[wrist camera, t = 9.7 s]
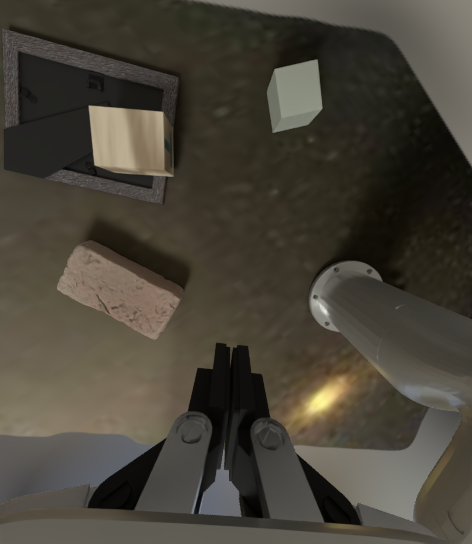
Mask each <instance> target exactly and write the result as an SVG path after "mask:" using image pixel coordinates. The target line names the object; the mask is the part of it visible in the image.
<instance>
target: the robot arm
mask: <svg viewBox="0 0 472 544" xmlns="http://www.w3.org/2000/svg"><path fill="white" fill-rule="evenodd" d="M334 268H335V270H334ZM314 295H315V296H314ZM309 307H310V311H311V313H312V315H313V317H314V318H315V319H316V320H317V321H318V323H319V324H320V325H322V326H323V327H325V328H327V329H329V330H331V331H336V332H341V333H342V334H343V335H344V336H345V337H346V338H347V339H348V340H349V341H350V342H351V343H352V345H353V346H354V347H355V348H356V349H357V350H358V351H359V352H360V353H361V354H362V355H363V356H364V357H365V358H366V359H367V360H368V361H369V362H370V363H371V364H372V365H373V366H374V367H375V368H376V369H377V370H378V371H379V372H380V373H381V374H382V375H383V376H384V377H385V378H386V379H387V380H388V381H389V382H390V383H391V384H392V385H393V386H394V387H395V388H396V389H397V390H398V391H399V392H400V393H402V394H403V395H405V396H406V397H408V398H409V399H411V400H413V401H415V402H417V403H420V404H423V405H426V406H429V407H433V408H438V409H443V410H451V411H458V412H460V413H461V422H460V425H459V427H458V429H457V431H456V432H455V434H454V436H453V438H452V441H451V442H450V444H449V446H448V447H447V448H446V450H445V451H444V453H443V454H442V456H441V457H440V459H439V461H438V462H437V463H436V465H435V466H434V468H433V470H432V471H431V473H430V474H429V476H428V478H427V479H426V481H425V483H424V484H423V486H422V488H421V490H420V492H419V494H418V496H417V498H416V501H415V506H414V514H413V518H414V522H412V521H410V520H406V519H404V518H401V517H398V516H395V515H392V514H389V513H386V512H383V511H380V510H378V509H374V508H372V507H369V506H366V505H363V504H360V503H358V504H357V506H354V505H352V504H351V503H350V501H349V500H348V499H347V498H346V497H345V496H344V495H343V494H342V493H340V492H339V491H338V490H337V489H336V488H335V487H334V486H333V485H331V484H330V483H329V482H328V481H327V480H326V479H325V478H324V477H323V476H321V475H320V474H319V473H318V472H317V471H316V470H315V469H313V468H312V467H311V466H310V465H309V464H308V463H307V462H306V461H304V460H303V459H302V458H301V457H300V456H299V455H298V454H297V453H296V452H295V449H294V447H293V444H292V442H291V440H290V437H289V435H288V433H287V431H286V429H285V428H284V427H283V426H282V424H281V423H279V422H278V421H276V420H274V419H271V418H270V414H269V409H268V403H267V398H266V393H265V388H264V382H263V377H262V375H261V374H255V373H251V366H250V358H249V350H248V346H242V345H237V348H234V347H233V352H232V359H231V366H230V347H226V344H223V343H216V348H215V357H214V365H213V369H204V368H198V369H197V373H196V377H195V382H194V386H193V391H192V395H191V400H190V404H189V409H188V412H186V413H184V414H182V415H180V416H179V417H178V418H177V419H176V420H175V422H174V424H173V426H172V428H171V430H170V432H169V434H168V437H167V438H166V439H164V440H163V441H161V442H160V443H158V444H157V445H155V446H154V447H152V448H151V449H149V450H148V451H147V452H145V453H144V454H142V455H141V456H139V457H138V458H136V459H135V460H133V461H132V462H131V463H129V464H128V465H127V466H125V467H123V468H122V469H120V470H119V471H117V472H116V473H115V474H113V475H112V476H110V477H109V478H107V479H106V480H105V481H104V482H103V483H101V484H100V485H99V486H97V487H91V488H90V484H86V485H81V486H76V487H70V488H64V489H59V490H54V491H49V492H43V493H38V494H32V495H26V496H21V497H17V498H14V499H12V500H9V501H7V502H5V503H4V504H2V505H0V544H472V320H471V319H469V318H466V317H464V316H462V315H459V314H457V313H455V312H452V311H450V310H447V309H445V308H442V307H440V306H438V305H435V304H433V303H431V302H428V301H426V300H424V299H421V298H419V297H417V296H414V295H412V294H410V293H407V292H405V291H403V290H400V289H398V288H396V287H394V286H391V285H389V284H387V283H384V282H383V281H382V278H381V276H380V275H379V273H378V272H377V271H376V270H375V269H374V268H373V267H371V266H369V265H368V264H365V263H363V262H359V261H354V260H346V261H340V262H337V263H334V264H332V265H330V266H329V267H327V268H326V269H324V270H323V271H322V272H321V273H320V274H319V275H318V276H317V277H316V279H315V280H314V282H313V284H312V286H311V289H310V292H309ZM224 441H225V463H224V470H229V481H232V483H233V484H234V486H235V487H236V488H237V489H238V490H239V503H240V510H241V517H234V516H217V515H204V514H200V510H201V506H202V502H203V497H204V492H205V491H206V489H208V487H209V486H210V485H211V484H212V483H213V482H214V481H215V476H216V469H220V467H221V461H222V454H223V448H224Z"/></svg>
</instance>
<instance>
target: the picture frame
mask: <svg viewBox="0 0 472 544" xmlns="http://www.w3.org/2000/svg"><path fill="white" fill-rule="evenodd" d="M2 29H3V28H2ZM3 60H4V92H5V123H6V129H4V170H9V171H13V172H18V173H22V174H27V175H31V176H36V177H40V178H45V179H50V180H54V181H59V182H63V183H68V184H72V185H77V186H81V187H86V188H90V189H95V190H99V191H104V192H108V193H113V194H117V195H122V196H126V197H131V198H135V199H140V200H144V201H149V202H154V203H158V204H163V205H164V197H165V190H166V182H167V176H155V175H140V174H126V173H114V172H111V171H109V170H106V169H103V168H101V167H98V166H95V165H94V155H93V145H92V134H91V124H90V114H89V106H100V107H111V108H123V109H135V110H147V111H158V112H164V114H165V116H166V117H167V119H168V121H169V122H170V124H171V126H172V127H173V129H174V121H175V114H176V106H177V99H178V91H179V83H180V80H179V78H178V77H176V76H172V75H168V74H165V73H161V72H158V71H154V70H150V69H147V68H143V67H140V66H136V65H132V64H129V63H125V62H122V61H118V60H114V59H111V58H107V57H104V56H100V55H96V54H93V53H89V52H86V51H82V50H78V49H75V48H71V47H68V46H64V45H60V44H57V43H53V42H50V41H46V40H42V39H39V38H35V37H32V36H28V35H24V34H21V33H17V32H13V31H10V30H6V29H3Z"/></svg>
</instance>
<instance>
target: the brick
mask: <svg viewBox="0 0 472 544" xmlns="http://www.w3.org/2000/svg"><path fill="white" fill-rule="evenodd" d="M57 289H58V290H59V291H61V292H62V293H64V294H66V295H68V296H69V297H71V298H73V299H75V300H76V301H78V302H80V303H82V304H85V305H87V306H90V307H94V308H95V309H97V310H100V311H104V312H105V313H106V314H108V315H111V316H113V317H114V318H115V319H116V320H119V321H120V322H124V323H125V324H126V325H128V326H131V328H133V329H134V330H136V331H138V332H140V333H142V334H144V335H146V336H148V337H150V338H151V339H157V338H158V336H159V335H160V334H161V333H162V331H163V330H164V329H165V327H166V326H167V324H168V322H169V320H170V318H171V317H172V315H173V313H174V312H175V310H176V308H177V306H178V304H179V302H180V301H181V299H182V297H183V292H184V290H183V289H182V287H180V286H179V285H177V284H175V283H174V282H172V281H170V280H165V279H164V277H163V276H161V275H159V274H156V273H155V272H153V271H151V270H149V269H147V268H145V267H143V266H141V265H139V264H137V263H135V262H132V261H131V260H129V259H127V258H125V257H123V256H121V255H119V254H117V253H116V252H114V251H112V250H111V249H109V248H107V247H105V246H103V245H101V244H99V243H97V242H94V241H92V240H89V241H86V242H83V243H80V244H79V245H78V246H76V248H75V249H74V251H73V253H72V254H71V255H70V258H69V259H68V264H67V267H66V269H65V270H64V273H63V275H62V276H61V278H60V281H59V283H58V285H57Z"/></svg>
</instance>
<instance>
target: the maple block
mask: <svg viewBox="0 0 472 544" xmlns="http://www.w3.org/2000/svg"><path fill="white" fill-rule="evenodd" d="M89 114H90V124H91V134H92V145H93V155H94V165H95V166H98V167H101V168H103V169H106V170H109V171H111V172H114V173H126V174H140V175H155V176H170V177H174V157H173V127H172V126H171V124H170V122H169V121H168V119H167V117H166V116H165V114H164V112H158V111H147V110H135V109H123V108H111V107H100V106H89Z"/></svg>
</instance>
